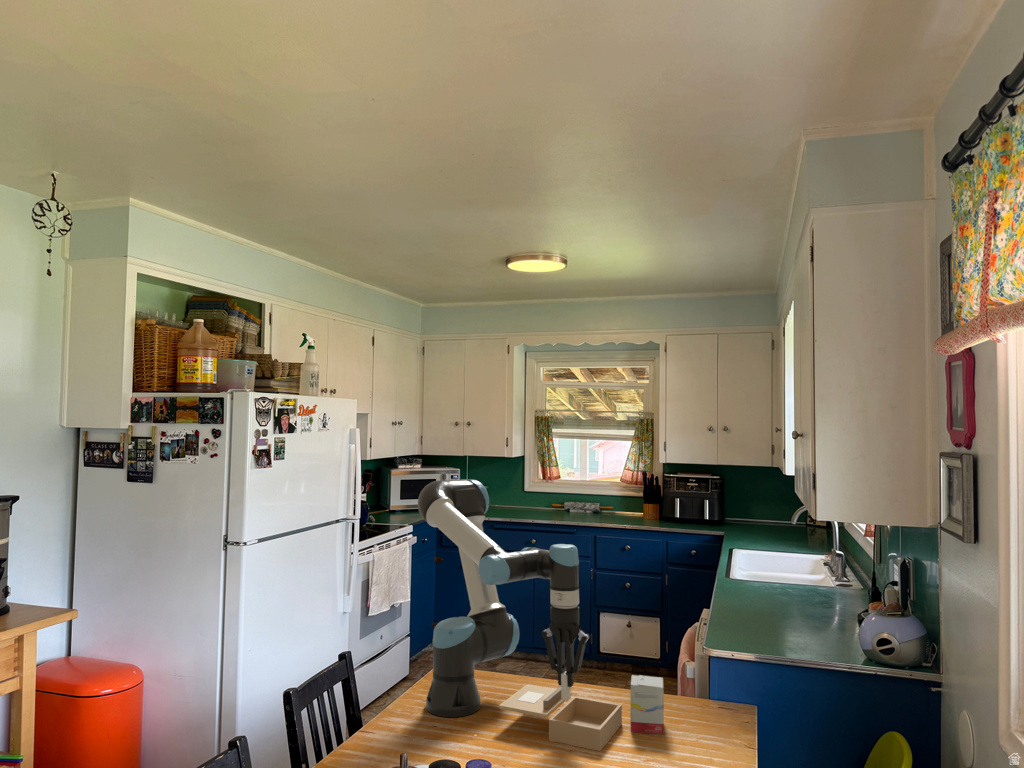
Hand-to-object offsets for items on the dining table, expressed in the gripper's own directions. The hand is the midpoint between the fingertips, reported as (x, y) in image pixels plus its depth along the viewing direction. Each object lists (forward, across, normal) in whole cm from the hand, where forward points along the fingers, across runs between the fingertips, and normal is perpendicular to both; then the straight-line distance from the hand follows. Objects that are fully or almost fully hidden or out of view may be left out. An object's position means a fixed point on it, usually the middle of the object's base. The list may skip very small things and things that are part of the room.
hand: (566, 698), depth 179 cm
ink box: (+8, +18, +12) cm, 23 cm away
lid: (+2, -9, +1) cm, 9 cm away
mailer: (+8, +5, +1) cm, 9 cm away
